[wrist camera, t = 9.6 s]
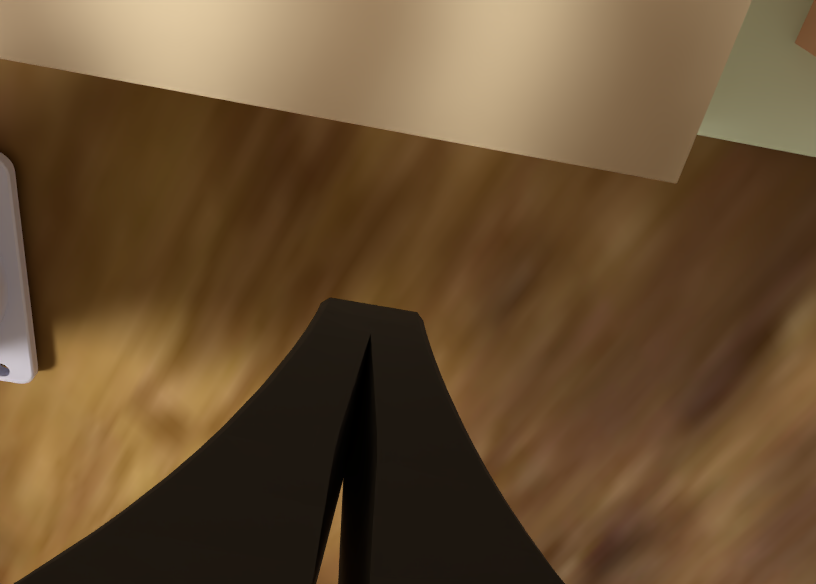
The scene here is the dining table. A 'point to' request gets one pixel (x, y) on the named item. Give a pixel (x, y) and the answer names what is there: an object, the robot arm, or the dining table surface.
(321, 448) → the robot arm
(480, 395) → the dining table surface
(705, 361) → the dining table surface
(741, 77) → the mat
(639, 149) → the deck
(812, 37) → the tile
